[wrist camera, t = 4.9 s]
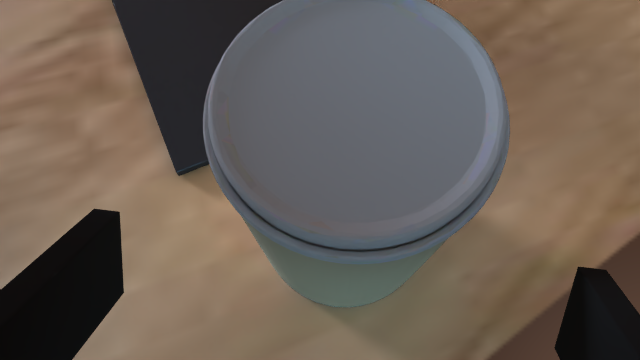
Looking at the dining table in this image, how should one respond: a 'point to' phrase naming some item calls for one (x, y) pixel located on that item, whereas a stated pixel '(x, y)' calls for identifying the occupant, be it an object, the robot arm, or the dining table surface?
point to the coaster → (182, 61)
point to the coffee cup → (355, 139)
